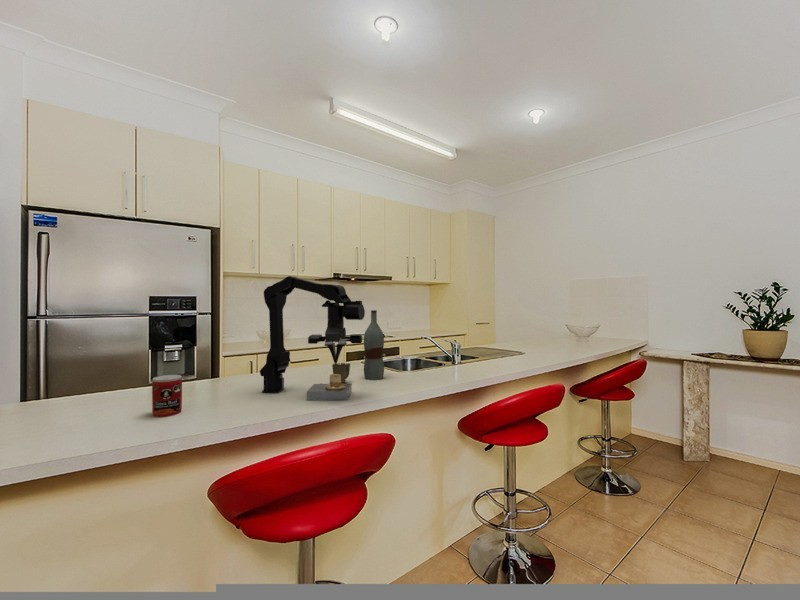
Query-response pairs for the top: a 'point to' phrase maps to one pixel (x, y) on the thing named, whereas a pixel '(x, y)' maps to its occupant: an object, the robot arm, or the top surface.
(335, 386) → the brass bushing
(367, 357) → the bottle
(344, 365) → the cup
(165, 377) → the canned food
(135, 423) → the top surface
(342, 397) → the block
